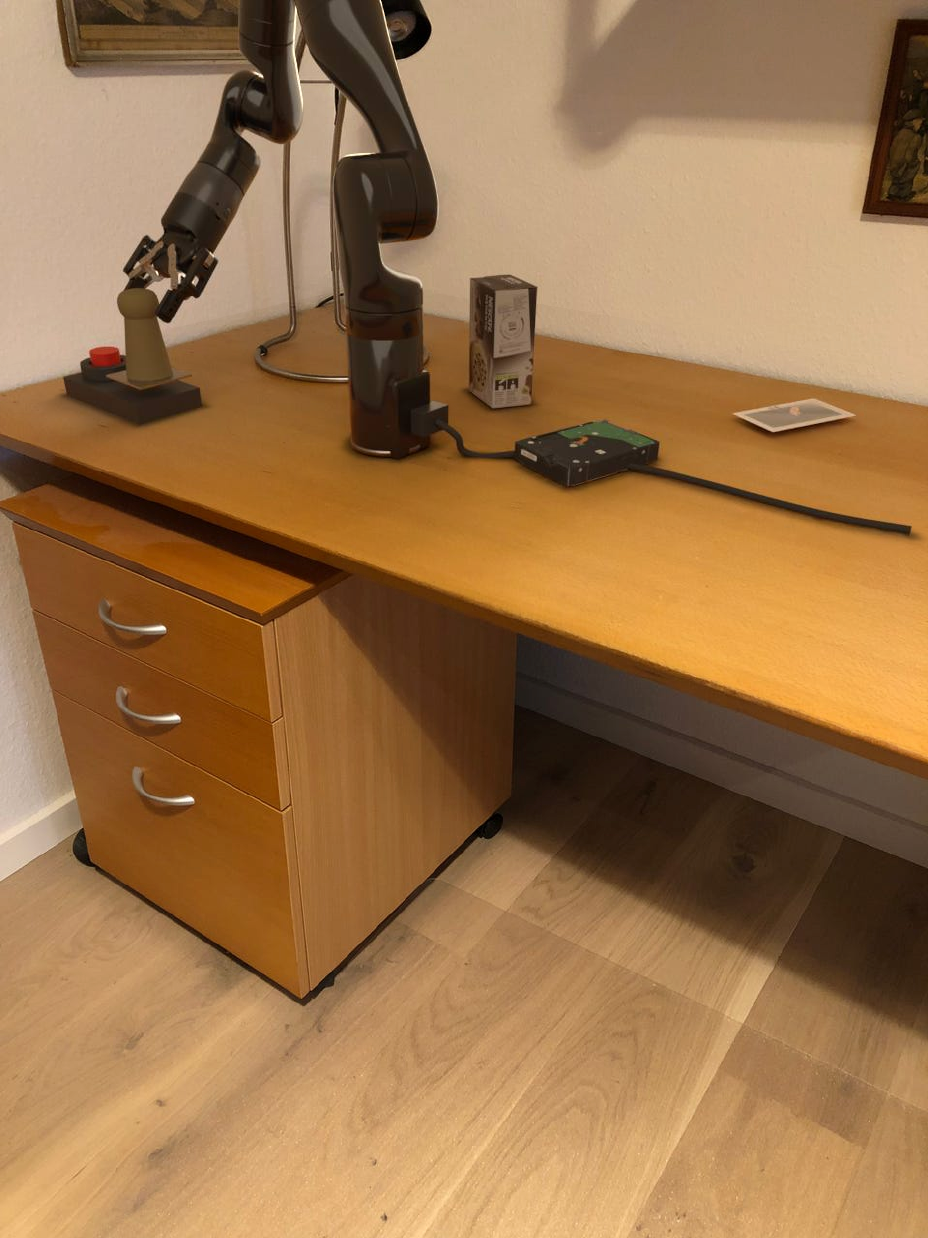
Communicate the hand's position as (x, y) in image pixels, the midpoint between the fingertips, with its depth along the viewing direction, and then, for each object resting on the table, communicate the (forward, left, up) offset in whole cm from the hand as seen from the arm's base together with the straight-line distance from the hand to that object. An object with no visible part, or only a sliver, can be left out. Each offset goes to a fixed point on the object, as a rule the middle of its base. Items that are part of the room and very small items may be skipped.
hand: (142, 313), depth 123 cm
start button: (+11, 0, -9) cm, 14 cm away
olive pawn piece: (0, 0, -8) cm, 8 cm away
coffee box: (-32, -36, -13) cm, 50 cm away
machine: (+5, 0, -13) cm, 14 cm away
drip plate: (0, 0, -8) cm, 8 cm away
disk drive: (-55, -24, -13) cm, 61 cm away
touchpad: (-68, -55, -13) cm, 88 cm away
